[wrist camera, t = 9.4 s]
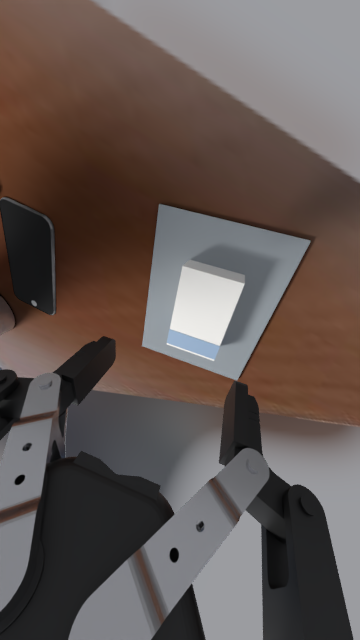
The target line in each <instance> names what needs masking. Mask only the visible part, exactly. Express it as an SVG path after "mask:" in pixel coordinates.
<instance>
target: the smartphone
mask: <svg viewBox="0 0 360 640" xmlns="http://www.w3.org/2000/svg"><path fill="white" fill-rule="evenodd" d="M0 211H1V217H2V223H3V229H4V235H5V241H6V247H7V253H8V259H9V265H10V271H11V277H12V283H13V289H14V293H15V295H16V297H17V298H18V299H19V300H21V301H23V302H25V303H27V304H29V305H31V306H33V307H35V308H37V309H39V310H41V311H43V312H45V313H47V314H49V315H54V314H55V313H56V287H55V239H54V226H53V223H52V222H51V220H50V219H49V218H48V217H47V216H46V215H44V214H41V213H39V212H37V211H35V210H33V209H31V208H29V207H27V206H24V205H22V204H20V203H18V202H16V201H14V200H12V199H9V198H2V199H1V200H0Z"/></svg>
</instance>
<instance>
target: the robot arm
mask: <svg viewBox="0 0 360 640" xmlns="http://www.w3.org/2000/svg"><path fill="white" fill-rule="evenodd" d="M14 325H15V319H14V315H13V313H12V311H11V309H10V307H9V306H8V304H7V303H6V301H5V300H4V299H3V298H2V297H1V296H0V335H2V334H4V333H6V332H8V331H10V330H12V329H13V328H14ZM115 356H116V352H115V340H114V339H111V338H108V337H105V336H103V337H101V338H100V339H99V340H98V341H97V342H95V341H93V342H90V343H88V344H86V345H85V346H83V347H82V348H81V349H80V350H79V351H78V352H76V353H75V354H74V355H73V356H72V357H71V358H70V359H68V360H67V361H66V362H65V363H64V364H63V365H61V366H60V367H59V368H58V369H57V370H56V371H54V372H53V373H45V374H42V375H39V376H37V377H36V378H19V377H17V375H16V373H15V372H14V371H12V370H0V440H1V439H2V438H3V437H4V436H5V435H6V434H7V433H8V431H10V434H9V437H8V440H7V443H6V447H5V450H4V453H3V457H2V460H1V463H0V640H206V639H205V635H204V631H203V627H202V623H201V618H200V615H199V610H198V606H197V602H196V598H195V594H194V590H193V585H192V582H193V581H194V580H195V578H196V577H197V576H198V574H199V573H200V572H201V570H202V569H203V568H204V567H205V565H206V564H207V563H208V561H209V560H210V558H211V557H212V556H213V555H214V553H215V552H216V550H217V549H218V548H219V547H220V545H221V544H222V542H223V541H224V540H225V539H226V537H227V536H228V535H229V533H230V532H231V531H232V529H233V528H234V527H235V525H236V524H237V522H238V521H239V518H240V516H241V515H242V514H243V512H244V511H245V510H246V511H247V512H248V513H250V514H251V515H252V516H253V517H254V518H255V519H256V520H257V521H258V522H259V523H261V529H262V595H263V640H353V636H352V631H351V627H350V622H349V618H348V614H347V609H346V605H345V600H344V596H343V591H342V587H341V583H340V579H339V574H338V569H337V565H336V561H335V556H334V552H333V548H332V544H331V539H330V534H329V530H328V525H327V521H326V517H325V513H324V510H323V507H322V506H321V504H320V502H319V501H318V499H317V498H316V496H315V495H314V494H313V493H312V492H311V491H310V490H309V489H307V488H306V487H304V486H301V485H293V486H290V485H289V484H288V483H286V482H285V481H284V480H282V479H281V478H280V477H278V476H277V475H276V474H275V473H274V472H272V470H271V469H270V468H269V467H268V465H267V462H266V460H265V459H264V457H263V454H262V446H261V433H260V424H259V421H260V420H259V408H258V404H257V402H256V400H255V398H254V397H253V396H250V395H248V386H247V385H246V384H243V383H240V382H237V381H234V382H233V384H232V386H231V388H230V391H229V393H228V395H227V397H226V400H225V404H224V414H223V425H222V436H221V447H220V457H219V463H220V464H222V465H225V467H224V468H223V469H222V471H220V472H219V473H218V474H217V475H216V476H215V477H214V478H213V479H211V480H209V481H208V482H207V483H206V484H205V485H204V486H203V487H202V488H201V489H200V490H199V491H198V492H197V493H196V494H195V495H194V496H193V497H192V498H191V499H190V500H189V501H188V502H187V503H186V504H185V505H184V506H183V507H182V508H181V509H180V510H179V511H178V512H177V513H176V514H174V512H173V510H172V508H171V506H170V504H169V503H168V501H167V500H166V499H165V497H164V496H163V495H162V494H161V493H160V492H159V489H160V485H158V484H155V483H153V482H151V481H149V480H146V479H144V478H142V477H137V476H126V475H117V474H115V473H114V472H113V471H112V470H111V469H110V468H109V467H108V466H107V465H106V464H104V463H103V462H102V461H101V460H100V459H98V458H96V457H93V456H92V455H89V454H87V453H85V452H83V451H81V452H80V453H79V455H78V456H77V457H67V458H66V456H65V455H66V453H65V452H66V451H65V436H66V423H67V412H68V407H69V406H70V404H71V403H73V404H75V405H79V404H80V403H81V401H82V400H83V399H84V398H85V397H86V396H87V395H88V393H89V392H90V391H91V390H92V389H93V387H94V386H95V385H96V384H97V383H98V381H99V380H100V379H101V378H102V377H103V375H104V374H105V373H106V372H107V371H108V369H109V368H110V367H111V366H112V365H113V363H114V361H115Z"/></svg>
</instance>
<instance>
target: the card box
mask: <svg viewBox="0 0 360 640" xmlns="http://www.w3.org/2000/svg"><path fill="white" fill-rule="evenodd" d="M244 284H245V275H243V274H239V273H236V272H232V271H229V270H225V269H222V268H218V267H214V266H211V265H207V264H204V263H200V262H197V261H193V260H189V261H188V262H186V263H185V264H184V265H183V266H182V271H181V276H180V281H179V285H178V290H177V295H176V300H175V305H174V310H173V315H172V320H171V325H170V329H169V333H168V338H167V345H170V346H173V347H175V348H178V349H181V350H184V351H187V352H190V353H192V354H195V355H198V356H201V357H204V358H207V359H209V360H212V361H214V360H215V358H216V355H217V353H218V350H219V348H220V345H221V342H222V340H223V337H224V335H225V332H226V330H227V327H228V324H229V322H230V319H231V317H232V314H233V312H234V309H235V307H236V304H237V302H238V299H239V297H240V294H241V292H242V289H243V287H244Z"/></svg>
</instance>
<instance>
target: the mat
mask: <svg viewBox="0 0 360 640" xmlns="http://www.w3.org/2000/svg"><path fill="white" fill-rule="evenodd" d="M310 242H311V241H310V240H306V239H302V238H298V237H294V236H290V235H286V234H282V233H278V232H274V231H269V230H265V229H261V228H257V227H253V226H249V225H245V224H241V223H237V222H233V221H228V220H224V219H220V218H216V217H212V216H208V215H204V214H200V213H196V212H191V211H187V210H183V209H179V208H175V207H171V206H167V205H163V204H159V209H158V217H157V226H156V234H155V242H154V251H153V259H152V268H151V276H150V285H149V293H148V302H147V310H146V319H145V327H144V335H143V344H142V346H144V347H146V348H149V349H152V350H155V351H157V352H160V353H163V354H166V355H168V356H171V357H174V358H177V359H179V360H182V361H185V362H188V363H190V364H193V365H196V366H198V367H201V368H204V369H207V370H209V371H212V372H215V373H218V374H220V375H223V376H226V377H229V378H231V379H234V380H238V378H239V376H240V374H241V372H242V370H243V368H244V367H245V365H246V363H247V361H248V359H249V357H250V355H251V353H252V351H253V350H254V348H255V346H256V344H257V342H258V340H259V338H260V336H261V334H262V333H263V331H264V329H265V327H266V325H267V323H268V321H269V319H270V317H271V316H272V314H273V312H274V310H275V308H276V306H277V304H278V302H279V300H280V299H281V297H282V295H283V293H284V291H285V289H286V287H287V285H288V283H289V282H290V280H291V278H292V276H293V274H294V272H295V270H296V268H297V266H298V265H299V263H300V261H301V259H302V257H303V255H304V253H305V251H306V249H307V248H308V246H309V244H310ZM189 260H193V261H197V262H200V263H204V264H207V265H211V266H214V267H218V268H222V269H225V270H229V271H232V272H236V273H239V274H243V275H245V284H244V287H243V289H242V292H241V294H240V297H239V299H238V302H237V304H236V307H235V309H234V312H233V314H232V317H231V319H230V322H229V324H228V327H227V330H226V332H225V335H224V337H223V340H222V342H221V345H220V348H219V350H218V353H217V355H216V358H215V360H214V361H212V360H209V359H207V358H204V357H201V356H198V355H195V354H192V353H190V352H187V351H184V350H181V349H178V348H175V347H173V346H170V345H167V338H168V333H169V329H170V325H171V320H172V315H173V310H174V305H175V300H176V295H177V290H178V285H179V281H180V276H181V271H182V266H183V265H184V264H185V263H186V262H188V261H189Z"/></svg>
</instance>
